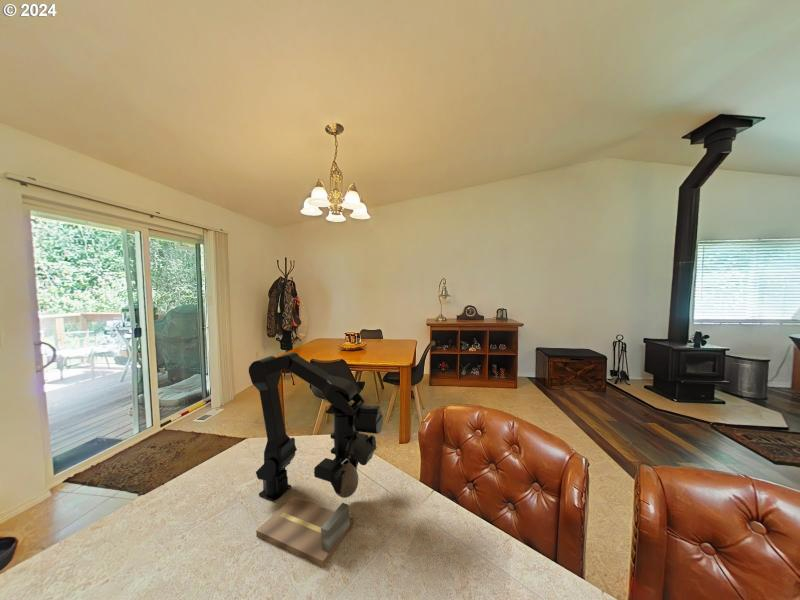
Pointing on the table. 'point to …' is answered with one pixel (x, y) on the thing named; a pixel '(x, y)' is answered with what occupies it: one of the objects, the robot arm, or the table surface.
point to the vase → (348, 480)
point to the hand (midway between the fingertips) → (345, 484)
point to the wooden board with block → (307, 529)
